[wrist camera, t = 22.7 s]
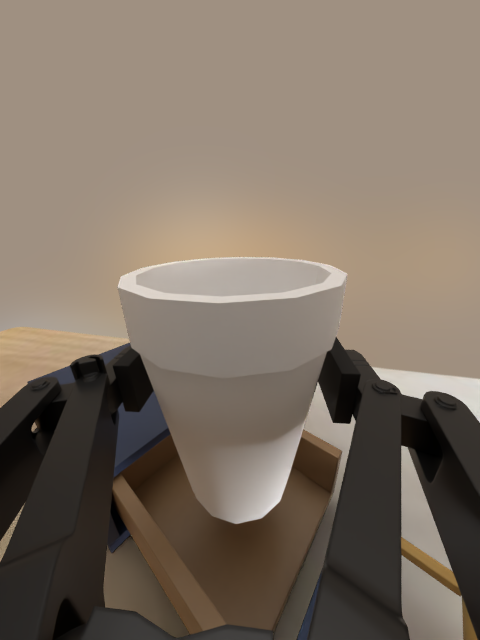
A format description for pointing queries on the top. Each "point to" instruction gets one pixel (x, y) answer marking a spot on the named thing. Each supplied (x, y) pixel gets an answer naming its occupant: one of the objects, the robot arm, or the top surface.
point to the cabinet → (126, 439)
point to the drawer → (236, 540)
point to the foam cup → (234, 366)
